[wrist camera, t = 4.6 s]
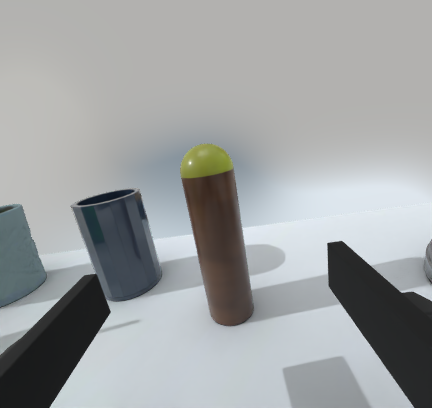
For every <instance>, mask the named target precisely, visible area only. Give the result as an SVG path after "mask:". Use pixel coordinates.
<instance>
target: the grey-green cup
mask: <svg viewBox="0 0 432 408" xmlns="http://www.w3.org/2000/svg"><path fill="white" fill-rule="evenodd" d="M45 279H46V272H45V270H44V267H43V265H42V262H41V260H40V258H39V256H38V251H37V248H36V245H35V242H34V240H33V239H32V237H31V234H30V228H29V226H28V223H27V220H26V217H25V214H24V210H23V207H22V205H20V204H13V205H6V206H1V207H0V307H2V306H5V305H7V304H10V303H12V302H14V301H16V300H18V299H20V298H22V297H24V296H25V295H28V294H29V293H31V292H32V291H34V290H35V289H36V288H38V287H39V286H40V285H41V284H42V283H43V282H44V281H45Z"/></svg>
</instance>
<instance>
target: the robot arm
mask: <svg viewBox="0 0 432 408" xmlns="http://www.w3.org/2000/svg"><path fill="white" fill-rule="evenodd" d="M327 246H328V279H329V287H330V289H331V290H332V292H333V293H334V294H335V296H336V297H337V299H338V300H339V302H340V303H341V304H342V306H343V307H344V309H345V310H346V311H347V313H348V314H349V316H350V317H351V319H352V320H353V321H354V323H355V324H356V326H357V327H358V328H359V330H360V331H361V333H362V334H363V336H364V337H365V338H366V340H367V341H368V343H369V344H370V345H371V347H372V348H373V350H374V351H375V353H376V354H377V355H378V357H379V358H380V360H381V361H382V362H383V364H384V365H385V367H386V368H387V370H388V371H389V372H390V374H391V375H392V377H393V378H394V379H395V381H396V382H397V384H398V385H399V387H400V388H401V389H402V391H403V392H404V394H405V395H406V396H407V398H408V399H409V401H410V402H411V404H412V405H413V406H414V408H432V301H430V300H428V299H426V298H424V297H422V296H420V295H418V294H416V293H414V292H406V293H401V292H400V291H399V290H397V289H396V288H395V287H394V286H393V285H392V284H391V283H389V282H388V281H387V280H386V279H385V278H384V277H383V276H381V275H380V274H379V273H378V272H377V271H376V270H375V269H373V268H372V267H371V266H370V265H369V264H368V263H367V262H365V261H364V260H363V259H362V258H361V257H360V256H359V255H357V254H356V253H355V252H354V251H353V250H352V249H351V248H349V247H348V246H347V245H346V244H345V243H344V242H343V241H339V242H331V243H327ZM425 272H426V274H427V276H428V278H429V279H430V281H431V282H432V240H431V241H430V243H429V244H428V246H427V248H426V256H425ZM110 313H111V311H110V309H109V306H108V303H107V301H106V298H105V295H104V292H103V290H102V287H101V284H100V281H99V279H98V276H97V274H91V275H84V276H83V277H82V278H81V279H80V280H79V281H78V282H77V283H76V284H75V285H74V286H73V287H72V288H71V289H70V290H69V291H68V292H67V293H66V294H65V295H64V296H63V297H62V298H61V299H60V300H59V301H58V302H57V303H56V304H55V305H54V306H53V307H52V308H51V309H50V310H49V311H48V312H47V313H46V314H45V315H44V316H43V317H42V318H41V319H40V320H39V321H38V322H37V323H36V324H35V325H34V326H33V327H32V328H31V329H30V330H29V331H28V332H27V333H26V334H25V335H24V336H23V337H22V338H21V339H19V340H18V341H17V342H15V343H14V344H13V345H11V346H10V347H9V348H8V349H6V350H5V351H4V352H3V353H2V354H1V355H0V408H49V407H50V406H51V404H52V403H53V401H54V400H55V398H56V397H57V395H58V393H59V392H60V390H61V389H62V387H63V386H64V384H65V383H66V381H67V379H68V378H69V376H70V375H71V373H72V372H73V370H74V369H75V367H76V365H77V364H78V362H79V361H80V359H81V358H82V356H83V355H84V353H85V351H86V350H87V348H88V347H89V345H90V344H91V342H92V341H93V339H94V337H95V336H96V334H97V333H98V331H99V330H100V328H101V327H102V325H103V323H104V322H105V320H106V319H107V317H108V316H109V314H110Z"/></svg>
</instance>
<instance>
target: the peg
mask: <svg viewBox="0 0 432 408" xmlns="http://www.w3.org/2000/svg"><path fill="white" fill-rule="evenodd" d="M180 173H181V179H182V183H183V188H184V193H185V198H186V202H187V207H188V211H189V216H190V221H191V226H192V230H193V235H194V240H195V244H196V249H197V254H198V258H199V263H200V268H201V273H202V277H203V282H204V287H205V291H206V296H207V301H208V305H209V310H210V314H211V317H212V318H213V320H214V321H216V322H217V323H219V324H221V325H226V326H233V325H238V324H241V323H243V322H244V321H246V320H247V319H248V318H249V317H250V316H251V314H252V312H253V308H254V307H253V299H252V292H251V285H250V279H249V272H248V265H247V258H246V251H245V244H244V237H243V230H242V224H241V217H240V210H239V204H238V196H237V189H236V182H235V176H234V168H233V163H232V161H231V158H230V157H229V155H228V154H227V153H226V152H225V151H224V150H223V149H222V148H220V147H218V146H216V145H213V144H201V145H197V146H195V147H193V148H192V149H190V150H189V151H188V152H187V154H186V155H185V156H184V158H183V160H182V163H181V168H180Z"/></svg>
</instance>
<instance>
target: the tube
mask: <svg viewBox="0 0 432 408" xmlns="http://www.w3.org/2000/svg"><path fill="white" fill-rule="evenodd" d="M71 208H72V211H73V214H74V217H75V220H76V222H77V225H78V228H79V230H80V233H81V236H82V238H83V241H84V244H85V247H86V250H87V252H88V255H89V258H90V260H91V263H92V266H93V269H94V271H95V274H97V276H98V279H99V281H100V284H101V287H102V290H103V292H104V295H105V298H106V299H108V300H111V301H124V300H128V299H132V298H135V297H137V296H139V295H142V294H143V293H145V292H147V291H148V290H150V289H151V288H152V287H154V286H155V285H156V284H157V283H158V281H159V280H160V278H161V275H162V271H161V267H160V263H159V259H158V256H157V252H156V248H155V245H154V241H153V237H152V233H151V230H150V226H149V222H148V219H147V215H146V211H145V208H144V204H143V200H142V196H141V193H140V189H137V188H129V189H122V190H115V191H111V192H106V193H102V194H98V195H94V196H92V197H88V198H85V199H82V200H80V201H77V202H75V203H74V204H72V205H71Z"/></svg>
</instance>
